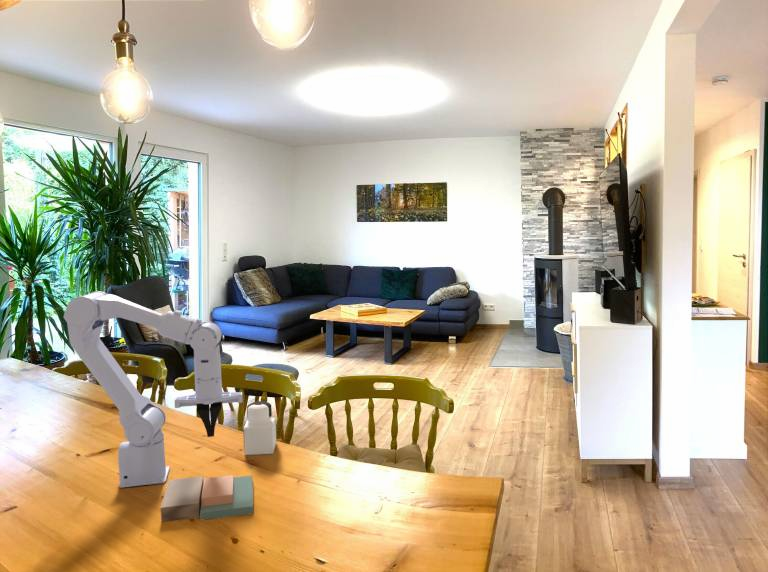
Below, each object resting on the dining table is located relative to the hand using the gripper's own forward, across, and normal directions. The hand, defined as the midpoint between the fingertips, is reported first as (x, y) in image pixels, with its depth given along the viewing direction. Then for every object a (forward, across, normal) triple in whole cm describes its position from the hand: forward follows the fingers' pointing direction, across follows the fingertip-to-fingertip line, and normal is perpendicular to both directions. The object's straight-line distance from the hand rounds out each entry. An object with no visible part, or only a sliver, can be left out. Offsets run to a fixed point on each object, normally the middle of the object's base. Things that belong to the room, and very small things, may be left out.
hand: (210, 435), depth 129 cm
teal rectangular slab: (+9, +4, -13) cm, 16 cm away
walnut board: (+9, -5, -13) cm, 17 cm away
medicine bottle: (+10, +11, +12) cm, 19 cm away
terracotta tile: (+8, +2, -13) cm, 15 cm away
